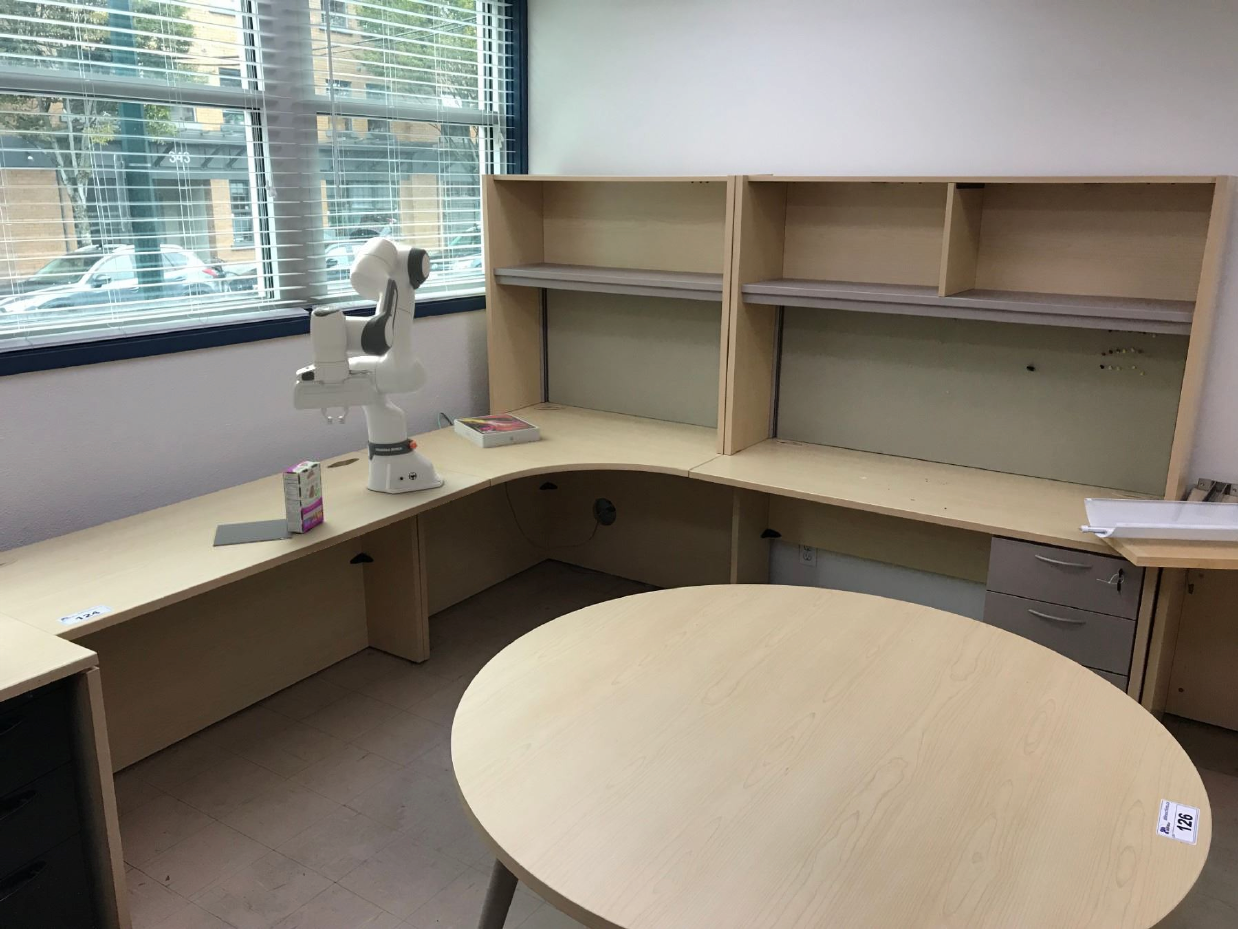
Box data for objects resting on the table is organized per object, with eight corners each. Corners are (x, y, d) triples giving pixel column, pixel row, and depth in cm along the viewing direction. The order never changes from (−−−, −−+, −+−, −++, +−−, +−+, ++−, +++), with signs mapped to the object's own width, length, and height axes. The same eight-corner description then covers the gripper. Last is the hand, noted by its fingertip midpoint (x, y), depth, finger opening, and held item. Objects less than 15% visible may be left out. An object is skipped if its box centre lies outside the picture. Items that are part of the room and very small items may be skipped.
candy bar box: (307, 519, 261) (304, 460, 257) (324, 520, 260) (321, 461, 256) (285, 532, 251) (281, 470, 246) (303, 533, 250) (299, 472, 246)
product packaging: (483, 449, 336) (482, 435, 334) (454, 432, 359) (453, 419, 358) (539, 441, 346) (539, 427, 344) (508, 426, 369) (508, 413, 368)
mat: (291, 519, 262) (291, 518, 262) (291, 538, 247) (291, 537, 247) (218, 526, 256) (217, 525, 256) (213, 546, 242) (213, 545, 242)
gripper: (372, 366, 254) (376, 418, 257) (290, 371, 248) (295, 424, 251) (374, 370, 248) (378, 423, 251) (290, 375, 242) (295, 429, 245)
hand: (336, 424), depth 251 cm, fingers closed
